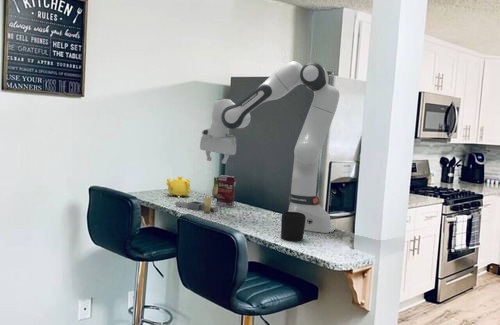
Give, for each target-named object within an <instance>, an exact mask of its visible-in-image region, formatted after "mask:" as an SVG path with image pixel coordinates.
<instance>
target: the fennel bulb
mask: <svg viewBox="0 0 500 325" xmlns="http://www.w3.org/2000/svg"><path fill="white" fill-rule="evenodd" d="M218 179H219V176H217V177H216V176H214V177H213V185H212V186H213V187H212V196H213V197H214V198H216V197H217V191H218Z"/></svg>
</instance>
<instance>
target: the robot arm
mask: <svg viewBox="0 0 500 325" xmlns="http://www.w3.org/2000/svg"><path fill="white" fill-rule="evenodd" d="M330 80H331V79H330V75H329V73H328V71H327V69H326V68H325V67H324V66H322V64H320V63H319V62H313V61H312V62H311V61H310V62H308V63H305V64H304V65H302V64H301V63H300V62H298V61H295V60H292V61H289V62H287V63H285V64H284V65H282V66H281V67H280V68H277V70H275V72H273V73H272V74H271V75H270V76H268V77H267V78H266V80H265V81H264V82H263V83H261V84H260V85H259V86H258V87H257V88H255V90H253V91H252V92H251V93H249V94H248V95H247V96H245V97H244V98H243V99H242V100H240V101H239V102H237V103H235V102H234V101H232V100H231V99H230V98H219V99H216V100H215V101H214V103H213V106H212V107H213V108H212V112H211V125H210V127H209V128H206V129H203V130H202V131H201V137H200V142H199V143H200V144H199V148H200V150H201V151H205V155H206V161H208V162H212V158H213V157H212V156H211V153H212V152H213V153H217V154H223V156H224V157H223V159H221V164H225V165H226V164H227V160H228V159H229V158H230V156H234V155H236V153H237V138H236V136H235V135H234V134H230V130H231V129H244V128H246V127H248V126H249V124H251V120H252V116H251V112H252V111H253V110H255V109H256V108H258V107H259V106H260V105H262V104H264V103H267V102H269V101H275V100H276V101H277V100H279V99H281V98H283V97H285V96H286V95H288V94H289V93H290V92H291V91H292V90H294V89H295V88H296V87H297V86H300V85H303V86H304V87H306V88H307V89H308V90H310V91H312V92H313V98H312V102H311V104H310V107H309V109H308V112H307V114H306V117H305V119H304V123H303V126H302V129H301V130H300V133H299V136H298V138H297V142H296V144H295V147H294V150H293V154H294V157H293V158H294V159H293V167H292V175H291V177H292V178H291V189H290V193H289V197H288V211H287V212H299V213H303V214H304V215H305V217H306V220H305V228H304V231H306V232H313V233H314V232H315V233H322V234H329V232H330V233H333V232H335V231H336V227H335V226H334V225H332V224H331V223H332V222H331V216H330V214H329V213H328V212H327V211H326V209H324V208H323V207H322V206H321V205H320V201H321V197H318V196H317V185H318V173H319V172H318V171H319V160H320V158H319V157H320V155H321V151H322V149H323V147H324V144H325V141H326V139H327V135H328V132H329V131H330V128H331V125H332V122H333V119H334V117H335V114H336V112H337V108H338V105H339V101H340V100H339V99H340V91H339V90H338V89H337V87H335V86H333V85H331V84H330ZM334 230H335V231H334Z"/></svg>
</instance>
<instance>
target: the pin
mask: <svg viewBox="0 0 500 325" xmlns="http://www.w3.org/2000/svg"><path fill="white" fill-rule="evenodd" d="M203 203H204V211H203V214H211V212H210V207H211V205H212V196H211V195H204V202H203Z"/></svg>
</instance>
